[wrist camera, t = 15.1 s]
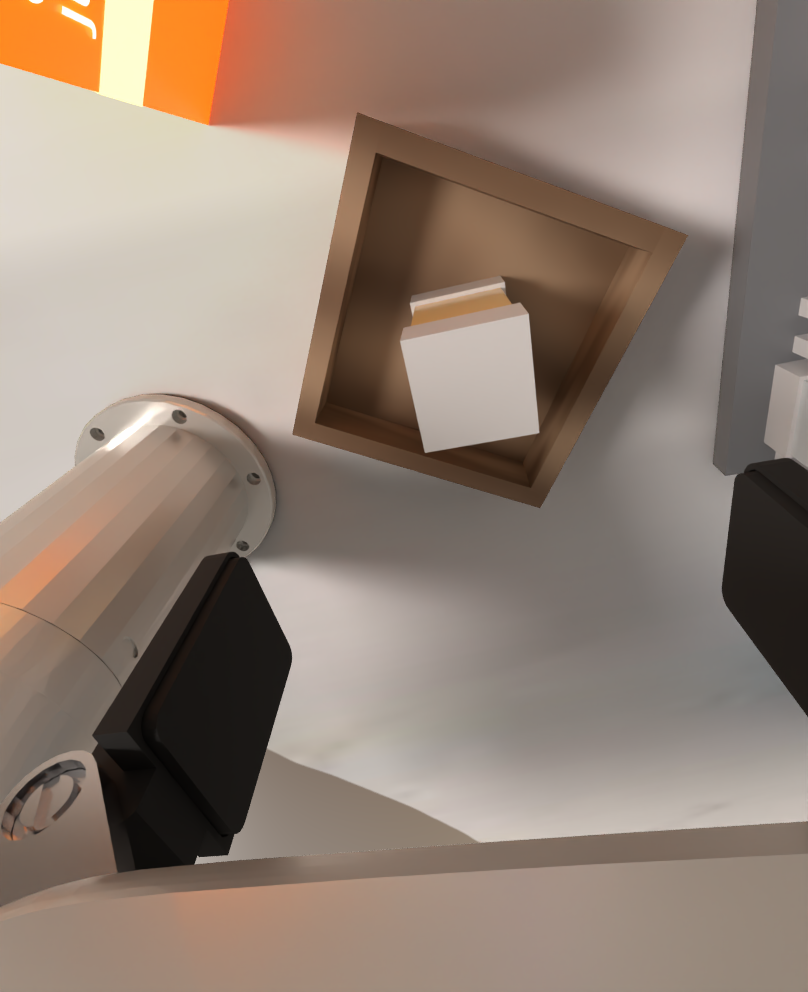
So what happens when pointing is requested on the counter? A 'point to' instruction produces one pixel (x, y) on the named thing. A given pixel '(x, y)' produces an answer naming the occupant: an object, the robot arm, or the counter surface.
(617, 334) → the walnut tray
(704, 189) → the counter surface
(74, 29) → the orange juice
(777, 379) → the block
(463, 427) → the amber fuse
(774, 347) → the fuse holder
